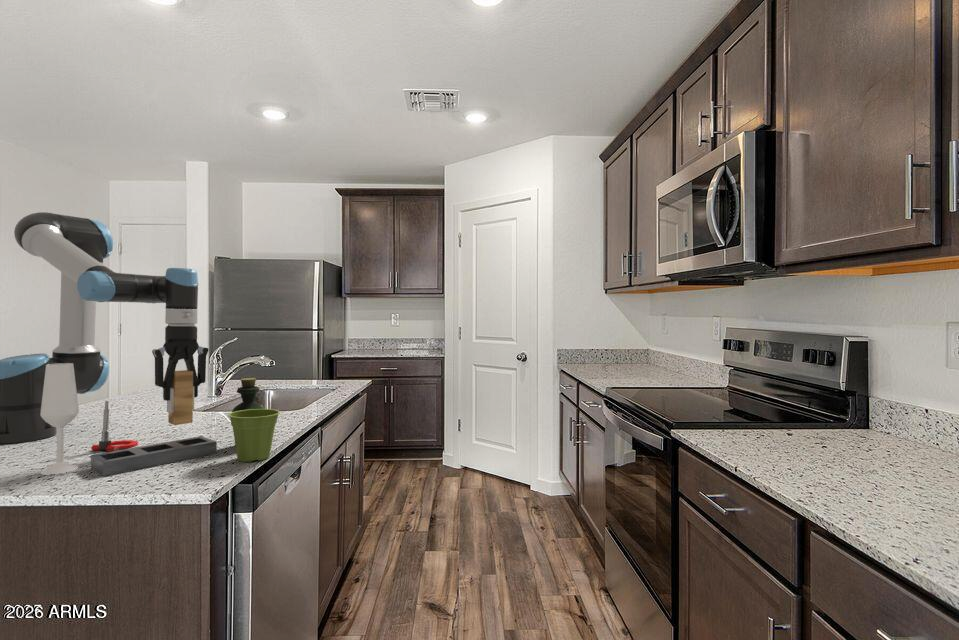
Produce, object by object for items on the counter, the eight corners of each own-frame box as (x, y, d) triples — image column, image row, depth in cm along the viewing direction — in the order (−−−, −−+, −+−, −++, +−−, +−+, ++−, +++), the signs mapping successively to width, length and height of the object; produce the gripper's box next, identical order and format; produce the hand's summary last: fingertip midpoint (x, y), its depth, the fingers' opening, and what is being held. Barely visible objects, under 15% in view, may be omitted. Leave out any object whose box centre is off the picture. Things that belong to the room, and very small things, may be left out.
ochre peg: (168, 422, 138) (168, 371, 138) (185, 420, 141) (186, 370, 141) (174, 425, 135) (175, 372, 135) (192, 422, 139) (193, 371, 138)
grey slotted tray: (90, 468, 116) (90, 455, 116) (201, 447, 135) (201, 436, 135) (103, 476, 111) (102, 462, 111) (216, 453, 129) (216, 441, 129)
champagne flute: (83, 464, 119) (83, 362, 119) (72, 473, 113) (71, 365, 113) (48, 467, 117) (48, 363, 116) (34, 476, 110) (34, 366, 110)
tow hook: (118, 443, 140) (87, 451, 131) (120, 396, 141) (90, 400, 132) (145, 445, 139) (116, 452, 130) (147, 397, 139) (118, 402, 130)
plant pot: (274, 464, 120) (274, 416, 120) (220, 466, 118) (220, 418, 118) (284, 450, 132) (284, 407, 132) (236, 452, 130) (236, 408, 130)
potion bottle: (224, 448, 134) (224, 380, 134) (243, 441, 142) (243, 376, 142) (253, 450, 133) (253, 381, 132) (270, 442, 141) (270, 377, 140)
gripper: (150, 326, 129) (149, 417, 129) (220, 325, 142) (219, 408, 143) (139, 325, 133) (138, 413, 134) (208, 324, 147) (208, 404, 147)
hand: (180, 410), depth 138 cm, fingers closed on ochre peg, 4 cm apart
